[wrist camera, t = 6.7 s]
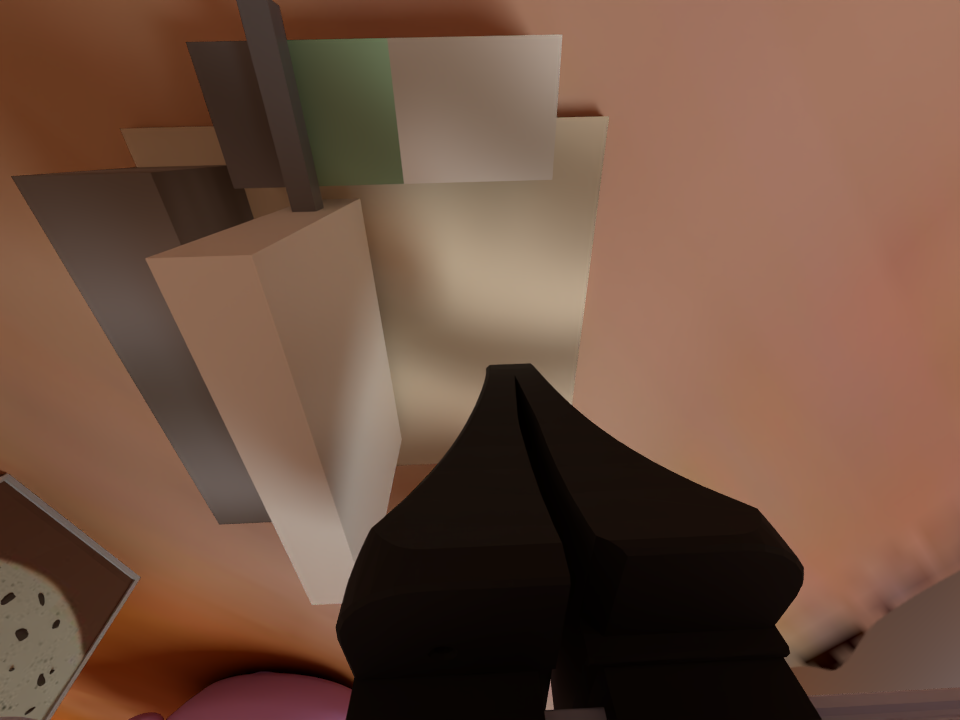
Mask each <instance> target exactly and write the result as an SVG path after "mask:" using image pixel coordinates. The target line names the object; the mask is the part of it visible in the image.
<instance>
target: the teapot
mask: <svg viewBox="0 0 960 720" xmlns="http://www.w3.org/2000/svg"><path fill="white" fill-rule="evenodd" d="M351 692H352V689H350V688H348V687H346V686H343V685H341V684H338V683H335V682H332V681H328V680H325V679H321V678H316V677H311V676H305V675H297V674H287V673H274V672H265V671H264V672H257V673H254V674H247V675H239V676H235V677H230V678H226V679H223V680H220V681H217V682H215V683H213V684H211V685H209V686H208V687H206V688H205V689H203V690H202V691H201V692H199V693H198V694H196V695H195V696H194V697H192V698H191V699H190V700H188V701H187V702H186V703H185V704H183V705H182V706H181V707H180V708H179V709H177V710H176V711H175V712H174V713H173V714H171V715H170V716H169V717H168V718H167V719H166V720H346V716H347V711H348V706H349V701H350V696H351ZM129 720H164V718H163V717H162V716H161V715H160V714H158V713H154V712H149V713H143V714H140V715H137V716H134V717H132V718H130V719H129Z"/></svg>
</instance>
